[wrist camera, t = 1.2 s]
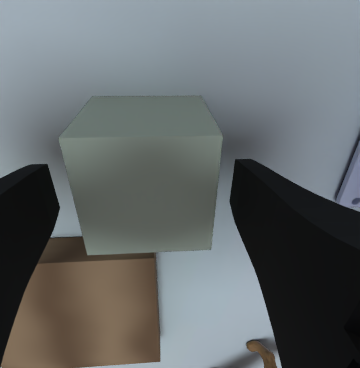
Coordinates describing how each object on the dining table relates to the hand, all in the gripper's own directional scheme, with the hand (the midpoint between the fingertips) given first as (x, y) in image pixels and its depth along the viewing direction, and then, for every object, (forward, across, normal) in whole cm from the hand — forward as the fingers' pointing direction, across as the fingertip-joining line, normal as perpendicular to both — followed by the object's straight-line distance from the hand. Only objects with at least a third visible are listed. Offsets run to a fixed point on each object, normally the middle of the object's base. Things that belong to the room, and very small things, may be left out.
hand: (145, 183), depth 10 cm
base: (+4, +6, +12) cm, 14 cm away
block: (+4, 0, 0) cm, 4 cm away
